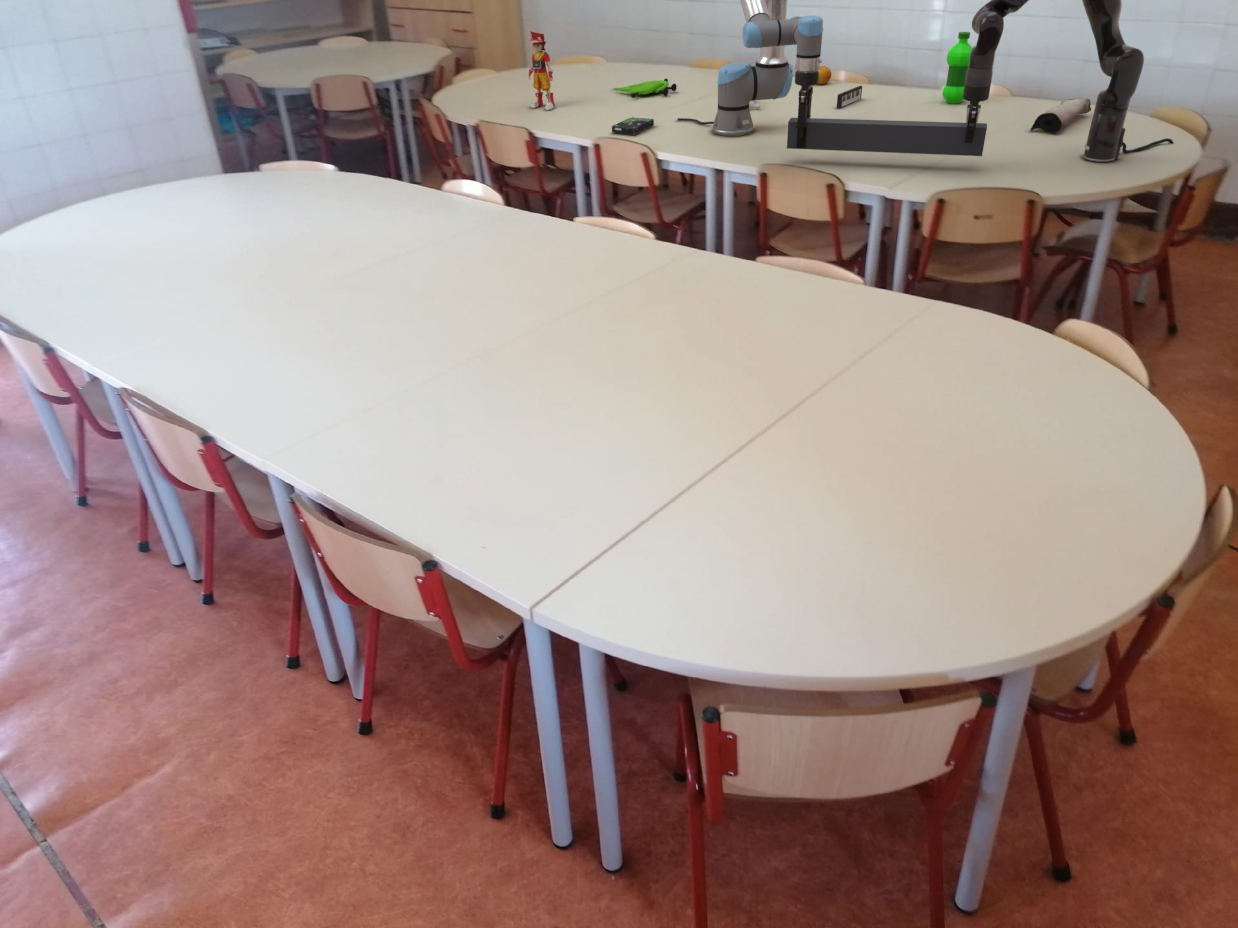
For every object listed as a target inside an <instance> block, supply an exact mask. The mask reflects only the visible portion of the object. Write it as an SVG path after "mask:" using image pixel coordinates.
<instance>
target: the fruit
mask: <svg viewBox="0 0 1238 928" xmlns="http://www.w3.org/2000/svg"><path fill="white" fill-rule="evenodd" d="M818 71H819V82H818V84H817V85H825V84H827V83H828V82H830V80H831V78H832V71H831V69H830V68H829V67H827V65H820V67H819V70H818Z"/></svg>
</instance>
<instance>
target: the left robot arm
mask: <svg viewBox="0 0 1238 928" xmlns="http://www.w3.org/2000/svg"><path fill="white" fill-rule="evenodd" d="M739 1H740V4H741V8H742V11H743V15H744V19H745V23H744V24H743V27H742V43H743V45H744V47H745V48H747V49H759V51H760V52H759V56H758V57H757V58H755V65H753V66H752V65H751V63H750V62H748V61H742V62H741V61H739V62H737V61H736V62H732V63H727V64H726V65H723V66H722V67H720V69H719V70H718V75H717V111H716V114H715V118H714V120H713V121H700V120H698V119H695V118H684V117H683V118H682V117H678V118H677V121H683V122H687V121H688V122H695V123H697V124H699V125H712V133H713V134H715V135H717V136H721V137H741V136H746V135H750V134H752V133H754V127H755V126H754V122H753V118H752V115H751V111H750V109H749V102H750V101H754V100H756V101H766V100H767V101H768V100H777V99H782V98H785V97H787V96H788V94H789V92H790V90H791V89H792V84H793V76H794V84H795V85H797V86H799V87H800V90H799V91H798V106H797V107H798V109H797V118H798V121H797V126H796V128H798V133H797V148H805V142H806V128H807V127H806V120H807V118H812V113H811V112H812V100H813V94H814V93H813V92H814V86H816V85H819V84H818V82H819V71H818V70H819V67H820V66H821V64H822V62H823V60H822V59H821V55H822V54H821V53H822V42H823V32H824V20H823V17H821V16H819V15H804V16H797V15H795V16H793V17H791V18H789V19H788V18H787V16H788V15H787V14H788V0H739ZM795 45H796V55H795V70H796V71H795V72H794V74H793V70H794V69H793V66H792V64H791V63H789V58H788V57H787V56H786V55H785V49H786V48H785V47H786V46H795Z"/></svg>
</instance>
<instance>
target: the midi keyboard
mask: <svg viewBox="0 0 1238 928" xmlns="http://www.w3.org/2000/svg"><path fill="white" fill-rule="evenodd" d="M862 93H863V85H858V86H856V87H855V86H854V87H853V88H851V89H847V90H846V91H843V92H840V93H838V94H837V98H836V108H837V109H841V108H843V107H844V106H846V105H849V104H852V103H855V102H856V101H859V100H862Z"/></svg>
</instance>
